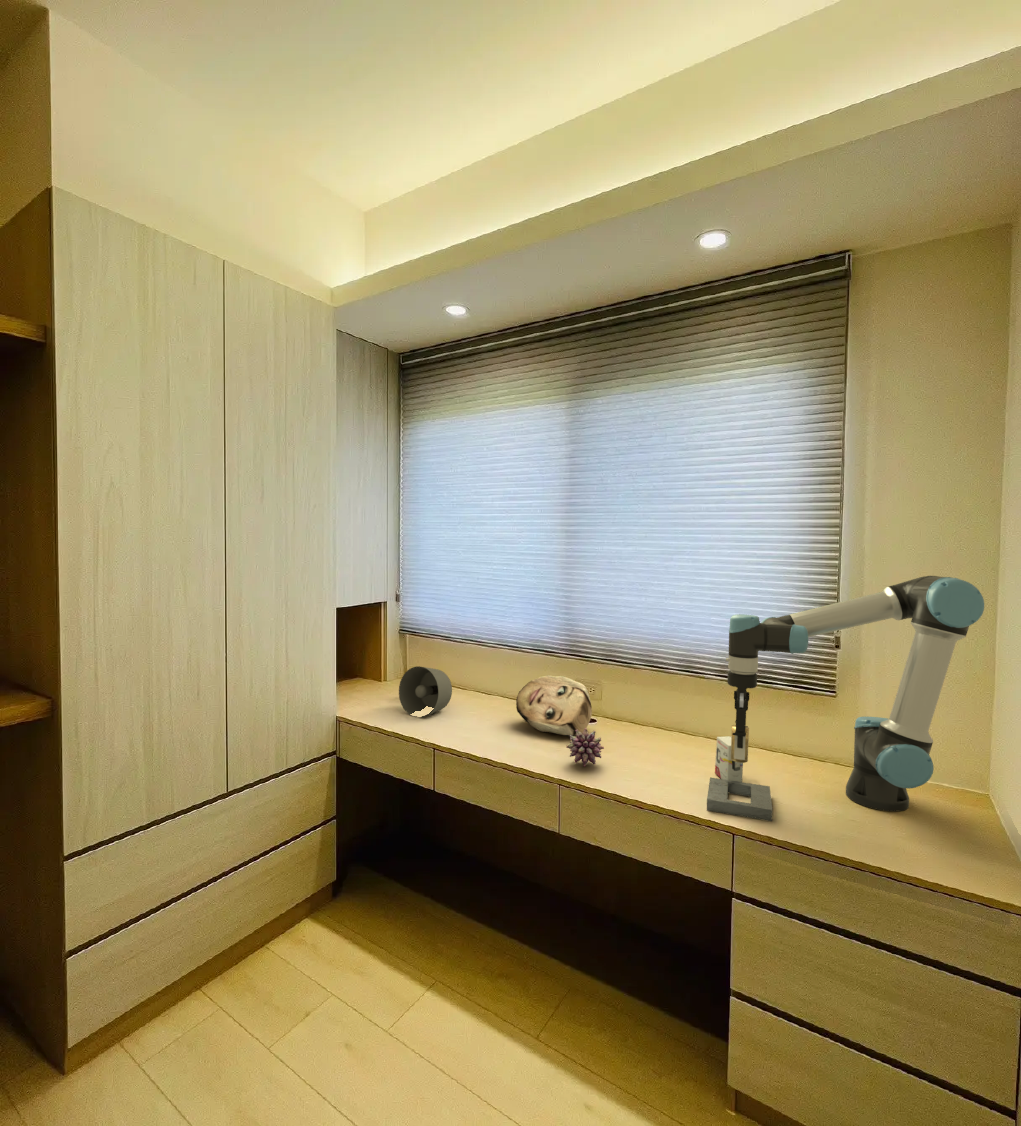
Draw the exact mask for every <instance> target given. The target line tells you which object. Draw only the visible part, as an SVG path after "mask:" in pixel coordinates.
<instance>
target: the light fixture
mask: <svg viewBox="0 0 1021 1126" xmlns="http://www.w3.org/2000/svg"><path fill="white" fill-rule="evenodd" d="M452 694H453V686H452V682H451V680H450V678H449V676H448V675H447V673H445V672H444V671H442V670H441V669H436V668H431V667H426V666H412V667H411V668H409V669H408V670H406V671H405V672H404V674H403V675H402V677H401V679H400V681H399V685H398V698H399V702H400V704H401V708H402V709H403V710H404V711H405V712H406V713H407V714H408V715H409V716H411V715H410V714H412V713H414V712H415V711H421V710H422V709H424V708H425V707H426V706H428V707H432V708H434V709H433V710H432V711H431V712H430V713H429V714H428V715H426V716H423V717H422V718H425V717H427V716H429V715H431V714H433V713H434V714H435V713H436V712H439V711H441V710H444V709H445V708H446V707H447V706H448V705H449V703H450V701H451V698H452Z"/></svg>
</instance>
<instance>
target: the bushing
mask: <svg viewBox="0 0 1021 1126" xmlns="http://www.w3.org/2000/svg"><path fill="white" fill-rule="evenodd" d="M735 731H736V724H733V725H731V760H733V761H735V762H740V763H743V764H745V763H748V761H749V739H750V738H749V737H750V736H749V734H750V728H749V726H748V727H747V725H746V730H745V733H746V739H745V760H740V759H734V745H735V735H733V733H735Z"/></svg>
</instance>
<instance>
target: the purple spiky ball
mask: <svg viewBox="0 0 1021 1126" xmlns="http://www.w3.org/2000/svg"><path fill="white" fill-rule="evenodd" d="M575 731H576V735H569V740H570V742H569V744H566V749H570V750H569V752H570V753H569V757H570V758H571V757H574V759H573V760H574V764H577V763H578V762H579V761H581V763H582V766H583V767H584V768H585V767H587V764H588V763H592V764H593V765H596V758H600V759H602V755H601V754H602V753H601V752H602V750H604V749H605V747H604V746H603V745H601V741H602V737H601V736H600V737H596V730H593V731H592V732H590V733H589V732H588V727H587V728H585V730H584V732H583V733H581V732H579V731H578V730H575Z"/></svg>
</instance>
